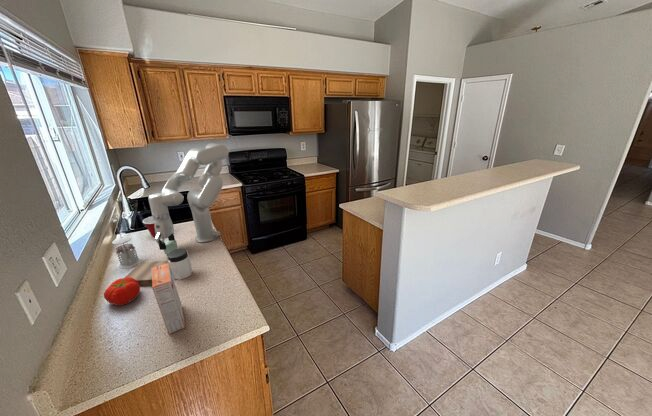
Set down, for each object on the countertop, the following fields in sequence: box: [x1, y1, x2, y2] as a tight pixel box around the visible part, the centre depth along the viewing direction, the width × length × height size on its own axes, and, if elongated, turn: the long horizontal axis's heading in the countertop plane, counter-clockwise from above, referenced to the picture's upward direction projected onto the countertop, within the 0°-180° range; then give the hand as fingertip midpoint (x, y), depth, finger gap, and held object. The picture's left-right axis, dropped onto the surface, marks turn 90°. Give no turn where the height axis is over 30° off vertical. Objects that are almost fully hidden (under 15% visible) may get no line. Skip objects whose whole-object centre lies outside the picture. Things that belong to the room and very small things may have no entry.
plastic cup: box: [142, 215, 156, 239], centre depth 164 cm, size 11×11×12 cm
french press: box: [111, 219, 142, 269], centre depth 132 cm, size 10×12×25 cm
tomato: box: [103, 276, 141, 306], centre depth 109 cm, size 13×12×8 cm
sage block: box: [163, 239, 179, 255], centre depth 146 cm, size 5×5×6 cm
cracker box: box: [151, 263, 186, 335], centre depth 95 cm, size 14×6×21 cm, turn 32°
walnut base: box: [123, 259, 169, 287], centre depth 126 cm, size 16×16×3 cm
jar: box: [167, 248, 193, 280], centre depth 124 cm, size 9×8×12 cm
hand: (167, 245), depth 144 cm, fingers open, 9 cm apart
